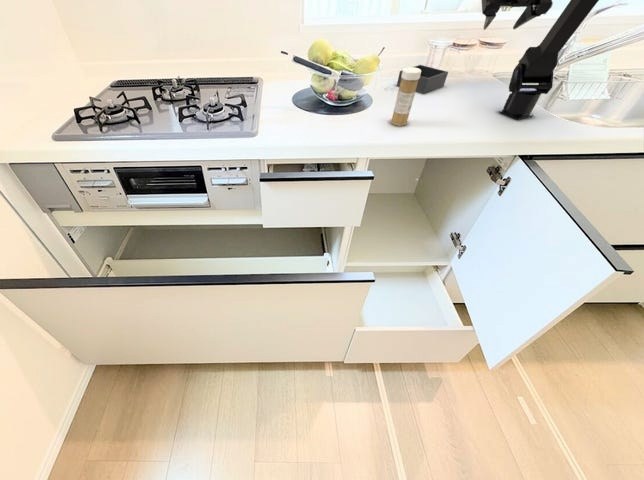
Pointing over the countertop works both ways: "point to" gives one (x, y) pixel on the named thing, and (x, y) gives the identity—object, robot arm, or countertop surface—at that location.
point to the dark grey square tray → (428, 79)
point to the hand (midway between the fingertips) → (498, 28)
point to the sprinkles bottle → (405, 95)
